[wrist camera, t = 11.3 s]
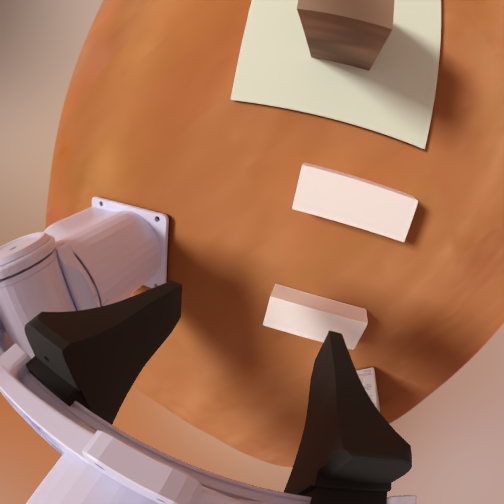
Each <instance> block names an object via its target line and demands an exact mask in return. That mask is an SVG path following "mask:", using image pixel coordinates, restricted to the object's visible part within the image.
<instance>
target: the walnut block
mask: <svg viewBox="0 0 504 504" xmlns="http://www.w3.org/2000/svg"><path fill="white" fill-rule="evenodd" d="M297 11H298V14H299V17H300V20H301V24H302V27H303V30H304V33H305V37H306V40H307V44H308V47H309V51H310V55H311V57H313V58H318V59H323V60H328V61H333V62H337V63H341V64H346V65H350V66H354V67H357V68H361V69H365V70H368V71H369V70H370V68H371V67H372V65H373V63H374V61H375V60H376V58H377V56H378V54H379V53H380V51H381V49H382V47H383V45H384V44H385V42H386V40H387V38H388V37H389V35H390V33H391V31H392V29H393V16H394V0H298V4H297Z"/></svg>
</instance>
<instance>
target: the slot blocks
mask: <svg viewBox="0 0 504 504" xmlns="http://www.w3.org/2000/svg"><path fill="white" fill-rule="evenodd" d="M417 204H418V200H417V199H415V198H414V197H413V196H412V195H410V194H407V193H404V192H402V191H399V190H396V189H393V188H390V187H387V186H384V185H381V184H378V183H375V182H372V181H369V180H366V179H363V178H360V177H356V176H353V175H350V174H346V173H343V172H339V171H336V170H332V169H329V168H325V167H321V166H318V165H314V164H310V163H306V162H305V163H303V164H302V167H301V172H300V176H299V181H298V185H297V190H296V194H295V198H294V203H293V207H292V209H294V210H298V211H302V212H305V213H309V214H313V215H316V216H320V217H323V218H327V219H330V220H334V221H337V222H341V223H344V224H347V225H351V226H354V227H357V228H361V229H364V230H367V231H370V232H373V233H377V234H380V235H383V236H386V237H389V238H392V239H395V240H398V241H401V242H404V241H405V239H406V236H407V233H408V230H409V228H410V225H411V222H412V219H413V216H414V213H415V210H416V207H417ZM367 324H368V319H367V311H366V309H364V308H361V307H357V306H353V305H350V304H346V303H342V302H339V301H335V300H332V299H328V298H325V297H321V296H317V295H314V294H310V293H307V292H303V291H300V290H297V289H293V288H290V287H286V286H283V285H279V284H276V283H275V286H274V288H273V291H272V293H271V296H270V299H269V303H268V307H267V311H266V315H265V318H264V322H263V325H264V326H267V327H271V328H274V329H277V330H281V331H284V332H287V333H291V334H294V335H298V336H301V337H305V338H309V339H312V340H316V341H320V342H324V341H325V339H326V336H327V334H328V332H329V330H330V331H334V332H337V333H341V334H342V335H343V338H344V341H345V344H346V346H347V349H351V350H354V348H355V347H356V345H357V343H358V341H359V339H360V338H361V336H362V334H363V332H364V330H365V328H366V326H367Z"/></svg>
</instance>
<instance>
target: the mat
mask: <svg viewBox="0 0 504 504" xmlns="http://www.w3.org/2000/svg"><path fill="white" fill-rule="evenodd" d="M297 4H298V0H252V2H251V6H250V10H249V14H248V19H247V23H246V27H245V32H244V36H243V41H242V45H241V50H240V55H239V59H238V64H237V69H236V74H235V79H234V84H233V90H232V95H231V100H233V101H241V102H249V103H256V104H262V105H269V106H274V107H280V108H285V109H290V110H295V111H300V112H305V113H309V114H314V115H318V116H322V117H326V118H330V119H334V120H338V121H342V122H345V123H349V124H352V125H356V126H359V127H362V128H366V129H369V130H372V131H375V132H378V133H381V134H384V135H387V136H390V137H393V138H396V139H398V140H401V141H404V142H406V143H409V144H412V145H414V146H417V147H419V148H422V149H425V146H426V141H427V137H428V132H429V127H430V122H431V117H432V111H433V105H434V99H435V92H436V85H437V77H438V68H439V57H440V42H441V0H394V16H393V29H392V31H391V33H390V35H389V37H388V38H387V40H386V42H385V44H384V45H383V47H382V49H381V51H380V53H379V54H378V56H377V58H376V60H375V61H374V63H373V65H372V67H371V68H370V70H369V71H368V70H365V69H361V68H357V67H354V66H350V65H346V64H341V63H337V62H333V61H328V60H323V59H318V58H313V57H311V55H310V51H309V47H308V44H307V40H306V37H305V33H304V30H303V27H302V24H301V20H300V17H299V14H298V11H297Z"/></svg>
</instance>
